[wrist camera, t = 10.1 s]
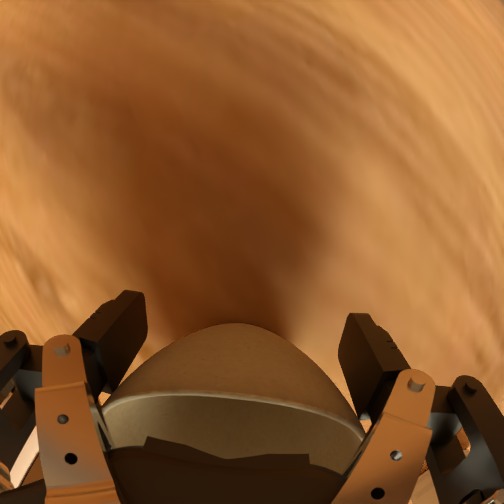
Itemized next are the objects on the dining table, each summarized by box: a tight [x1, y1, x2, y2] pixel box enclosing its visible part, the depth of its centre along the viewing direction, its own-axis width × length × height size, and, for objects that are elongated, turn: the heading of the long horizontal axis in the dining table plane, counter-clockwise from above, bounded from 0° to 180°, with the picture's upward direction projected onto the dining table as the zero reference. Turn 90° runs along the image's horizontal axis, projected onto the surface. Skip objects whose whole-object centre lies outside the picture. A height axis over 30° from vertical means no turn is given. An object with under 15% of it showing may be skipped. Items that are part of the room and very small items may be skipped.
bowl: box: [101, 323, 366, 474], centre depth 10 cm, size 10×10×7 cm
